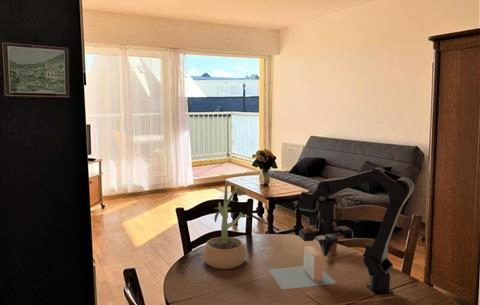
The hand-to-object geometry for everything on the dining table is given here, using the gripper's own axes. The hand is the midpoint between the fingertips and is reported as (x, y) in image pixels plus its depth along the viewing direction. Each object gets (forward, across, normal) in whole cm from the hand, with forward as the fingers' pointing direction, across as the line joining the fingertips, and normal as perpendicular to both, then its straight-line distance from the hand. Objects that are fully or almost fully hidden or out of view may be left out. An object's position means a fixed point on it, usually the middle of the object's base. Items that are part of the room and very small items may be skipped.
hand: (325, 256), depth 142 cm
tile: (+7, +5, 0) cm, 8 cm away
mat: (+7, +9, 0) cm, 12 cm away
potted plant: (+8, +32, -22) cm, 39 cm away
